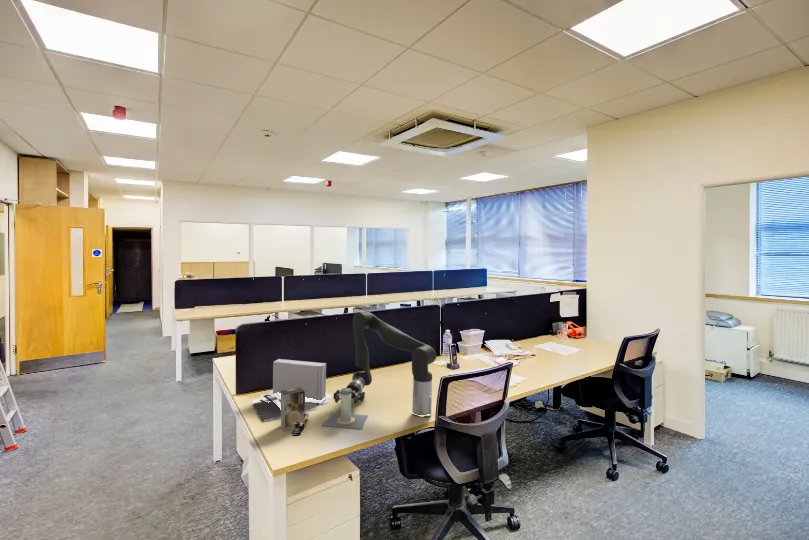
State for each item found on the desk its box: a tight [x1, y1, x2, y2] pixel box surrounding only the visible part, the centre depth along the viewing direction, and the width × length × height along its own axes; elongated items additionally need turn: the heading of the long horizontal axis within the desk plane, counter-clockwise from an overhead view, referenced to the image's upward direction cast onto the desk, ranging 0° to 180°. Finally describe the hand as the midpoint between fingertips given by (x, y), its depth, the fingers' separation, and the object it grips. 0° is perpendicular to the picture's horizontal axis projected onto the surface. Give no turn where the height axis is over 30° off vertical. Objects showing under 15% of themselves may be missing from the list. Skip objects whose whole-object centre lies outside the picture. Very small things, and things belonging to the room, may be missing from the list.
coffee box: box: [280, 387, 306, 431], centre depth 170 cm, size 9×6×16 cm
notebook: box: [252, 401, 281, 422], centre depth 186 cm, size 13×2×21 cm
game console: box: [272, 358, 327, 400], centre depth 200 cm, size 6×27×20 cm, turn 78°
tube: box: [339, 387, 352, 422], centre depth 177 cm, size 5×5×14 cm
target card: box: [321, 411, 369, 430], centre depth 177 cm, size 18×14×1 cm
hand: (345, 401), depth 175 cm, fingers open, 8 cm apart
